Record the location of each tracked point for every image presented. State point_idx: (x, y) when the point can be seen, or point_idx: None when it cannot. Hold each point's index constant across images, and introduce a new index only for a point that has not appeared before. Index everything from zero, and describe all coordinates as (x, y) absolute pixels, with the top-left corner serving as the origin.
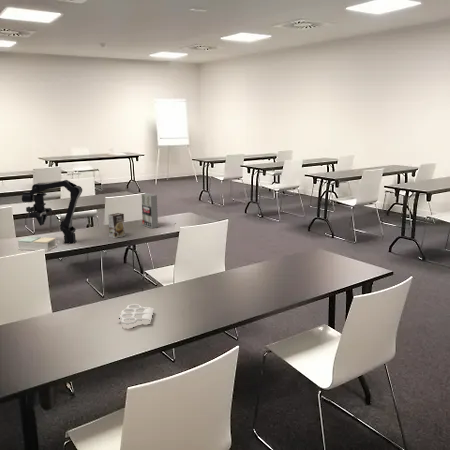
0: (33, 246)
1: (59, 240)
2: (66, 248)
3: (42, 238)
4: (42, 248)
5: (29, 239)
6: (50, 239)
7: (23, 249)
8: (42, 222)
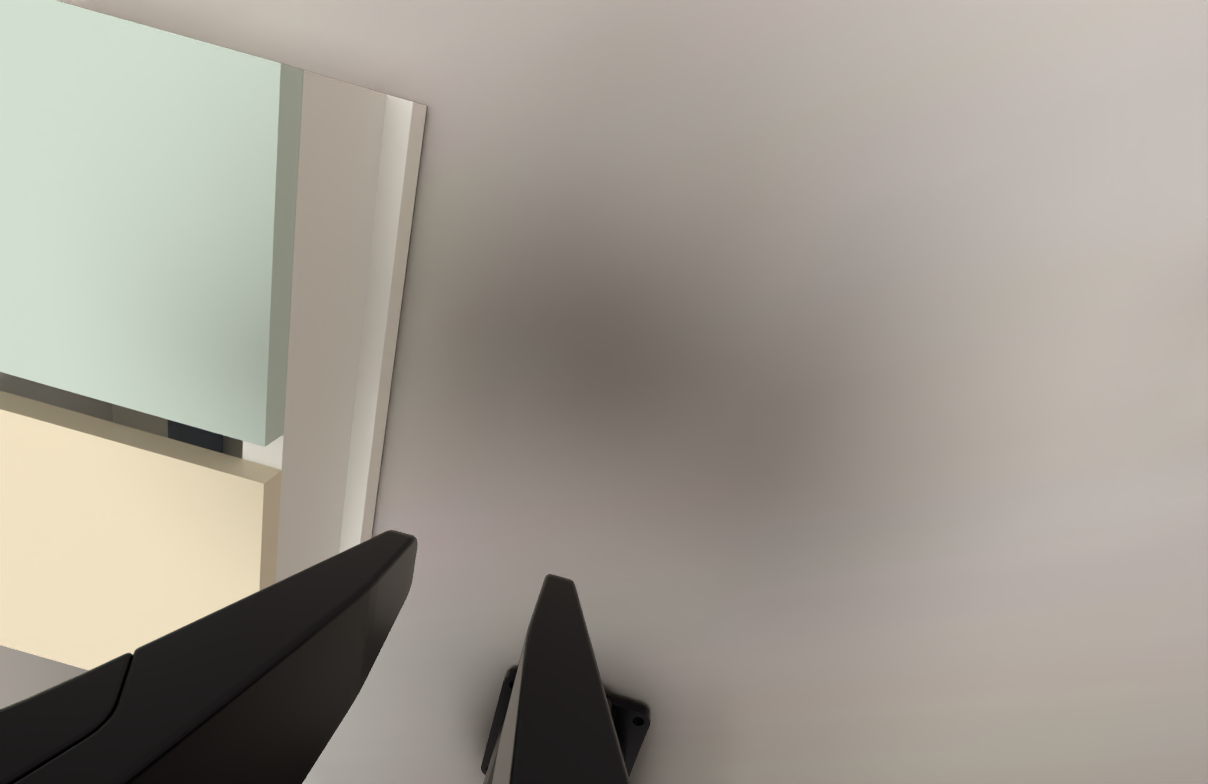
0: None
1: (699, 583)
2: None
3: (174, 507)
4: None
5: (20, 239)
6: None
7: None
8: (512, 693)
